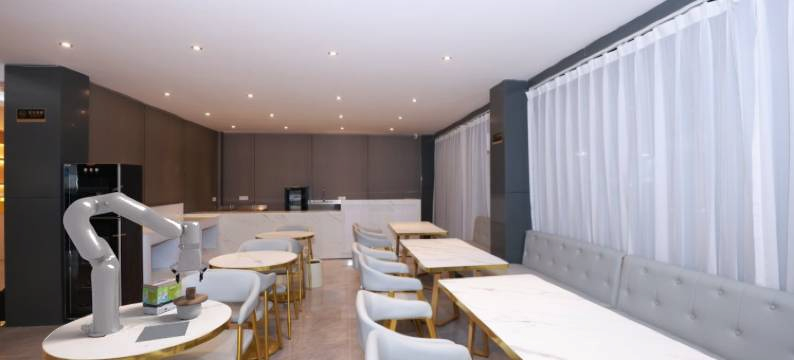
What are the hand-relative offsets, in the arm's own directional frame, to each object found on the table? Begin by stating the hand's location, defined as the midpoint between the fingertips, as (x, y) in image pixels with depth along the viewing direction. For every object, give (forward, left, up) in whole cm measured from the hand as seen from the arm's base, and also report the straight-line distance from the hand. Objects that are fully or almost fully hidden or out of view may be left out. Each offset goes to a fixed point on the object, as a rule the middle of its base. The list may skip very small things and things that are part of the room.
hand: (189, 282), depth 192 cm
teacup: (+1, 0, -17) cm, 17 cm away
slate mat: (-8, -17, -17) cm, 25 cm away
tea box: (-14, +18, -17) cm, 29 cm away
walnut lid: (+1, 0, -9) cm, 9 cm away
